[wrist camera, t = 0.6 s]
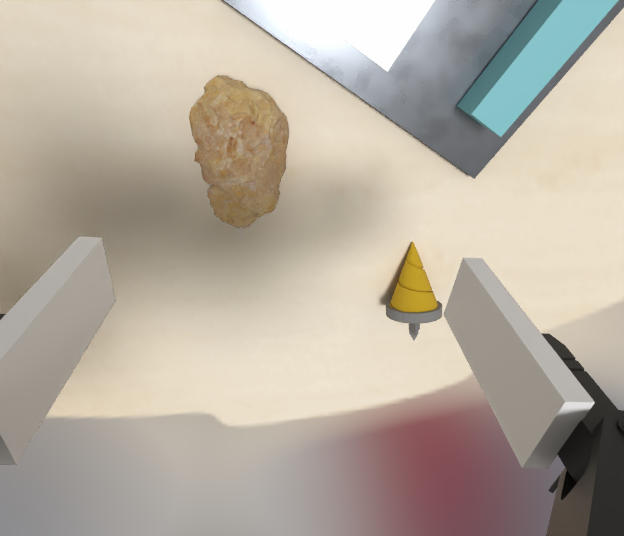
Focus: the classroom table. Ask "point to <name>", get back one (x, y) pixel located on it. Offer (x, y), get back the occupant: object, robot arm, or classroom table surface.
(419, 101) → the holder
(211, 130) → the stone tool
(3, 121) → the classroom table surface
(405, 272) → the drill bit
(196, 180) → the classroom table surface
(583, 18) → the bar
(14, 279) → the classroom table surface
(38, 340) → the robot arm
